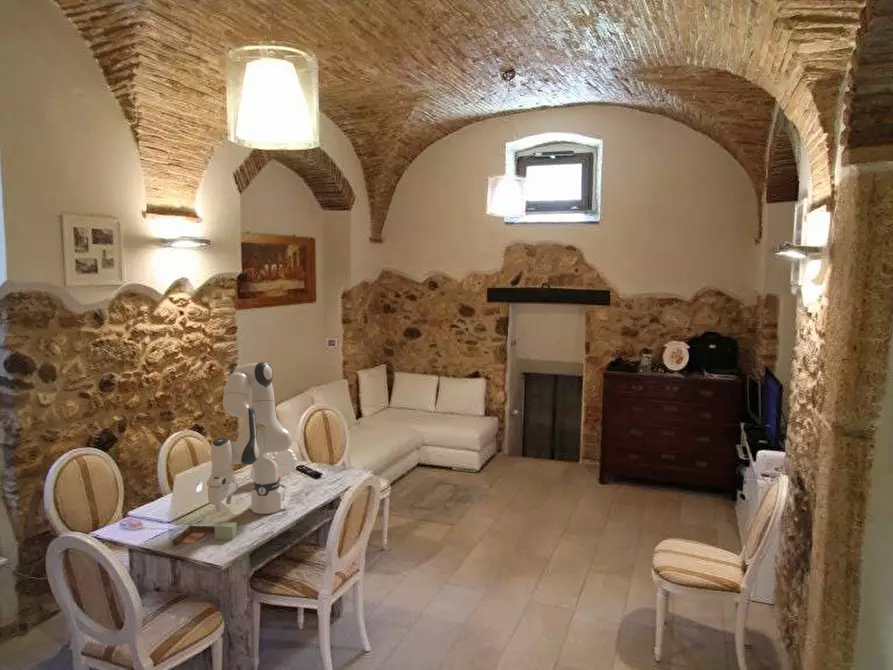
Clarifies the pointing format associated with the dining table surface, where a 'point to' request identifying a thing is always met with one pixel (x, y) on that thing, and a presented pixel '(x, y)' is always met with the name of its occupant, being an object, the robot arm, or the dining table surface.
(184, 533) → the brown flat wooden frame
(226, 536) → the sage block
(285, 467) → the decorative rooster
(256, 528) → the dining table surface
